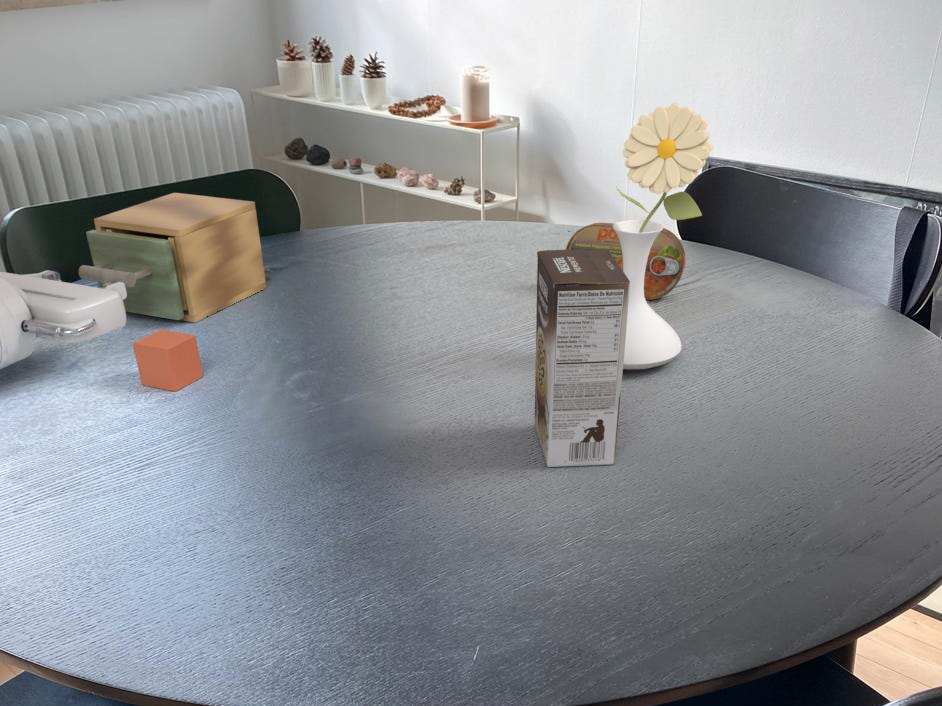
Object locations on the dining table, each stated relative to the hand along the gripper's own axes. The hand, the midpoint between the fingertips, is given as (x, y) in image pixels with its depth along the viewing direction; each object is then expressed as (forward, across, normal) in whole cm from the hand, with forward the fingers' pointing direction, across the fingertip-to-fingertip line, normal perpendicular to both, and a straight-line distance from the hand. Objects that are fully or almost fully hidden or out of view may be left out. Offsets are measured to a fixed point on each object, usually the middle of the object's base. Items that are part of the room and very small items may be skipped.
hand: (88, 283), depth 109 cm
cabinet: (+16, 0, +6) cm, 18 cm away
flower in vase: (+18, -58, +6) cm, 61 cm away
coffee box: (-4, -60, +6) cm, 60 cm away
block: (-6, -16, +6) cm, 18 cm away
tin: (+40, -49, +6) cm, 64 cm away
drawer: (+11, 0, +5) cm, 13 cm away
